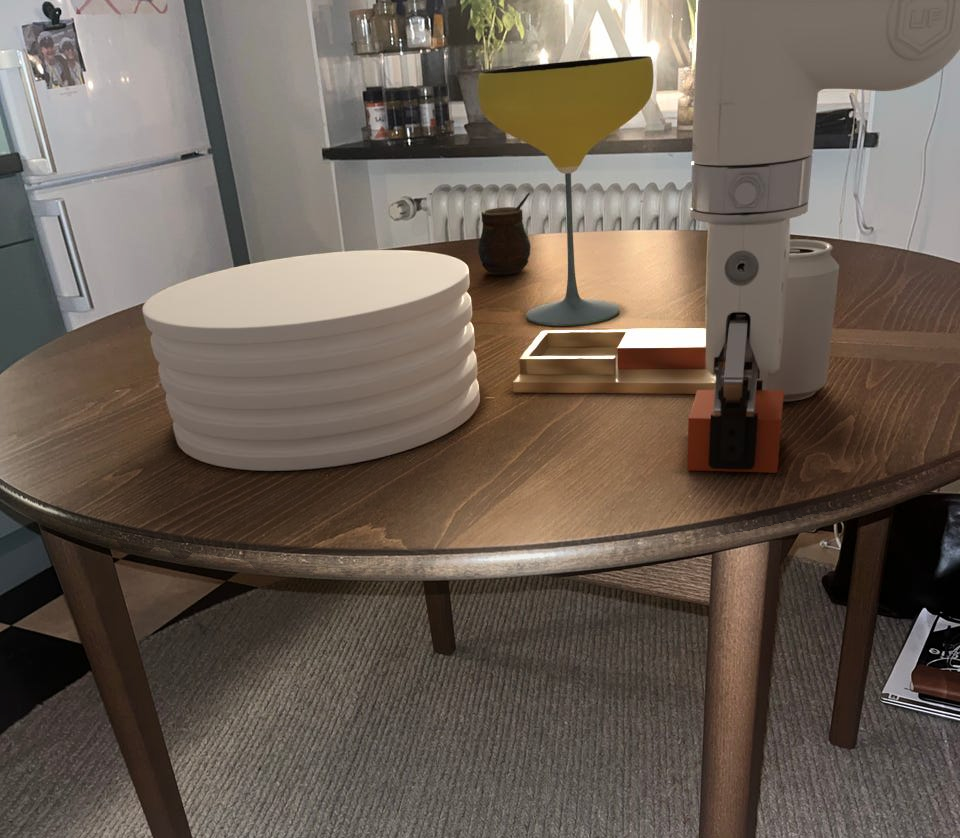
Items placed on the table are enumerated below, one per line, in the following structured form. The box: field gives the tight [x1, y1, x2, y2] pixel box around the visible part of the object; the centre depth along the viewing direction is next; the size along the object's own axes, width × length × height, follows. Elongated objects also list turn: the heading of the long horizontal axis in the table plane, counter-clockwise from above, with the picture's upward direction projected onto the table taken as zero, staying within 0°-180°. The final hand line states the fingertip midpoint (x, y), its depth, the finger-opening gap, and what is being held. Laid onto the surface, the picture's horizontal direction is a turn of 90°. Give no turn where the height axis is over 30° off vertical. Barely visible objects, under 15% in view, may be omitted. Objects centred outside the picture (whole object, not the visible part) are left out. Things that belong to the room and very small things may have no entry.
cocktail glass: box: [477, 55, 655, 327], centre depth 106 cm, size 18×18×25 cm
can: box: [757, 239, 840, 402], centre depth 81 cm, size 8×8×12 cm
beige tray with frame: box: [512, 327, 716, 395], centre depth 93 cm, size 19×14×3 cm
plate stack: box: [141, 249, 481, 472], centre depth 87 cm, size 28×28×12 cm
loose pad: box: [686, 390, 784, 474], centre depth 72 cm, size 6×6×4 cm
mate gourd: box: [477, 192, 531, 276], centre depth 133 cm, size 7×8×10 cm
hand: (734, 446), depth 73 cm, fingers closed on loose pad, 6 cm apart
